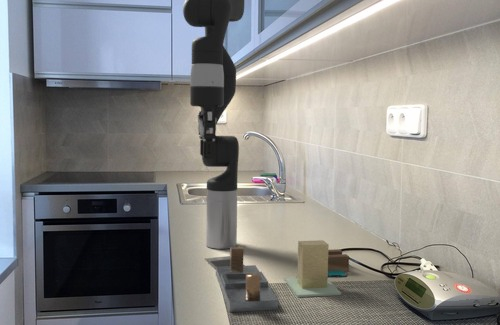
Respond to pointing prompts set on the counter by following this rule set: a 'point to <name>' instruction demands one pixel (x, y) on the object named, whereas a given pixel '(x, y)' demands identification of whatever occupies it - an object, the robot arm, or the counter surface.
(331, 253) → the phone stand
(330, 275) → the smartphone
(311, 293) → the pad
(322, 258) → the brushed brass block
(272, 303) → the grey slotted base
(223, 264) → the smartphone
